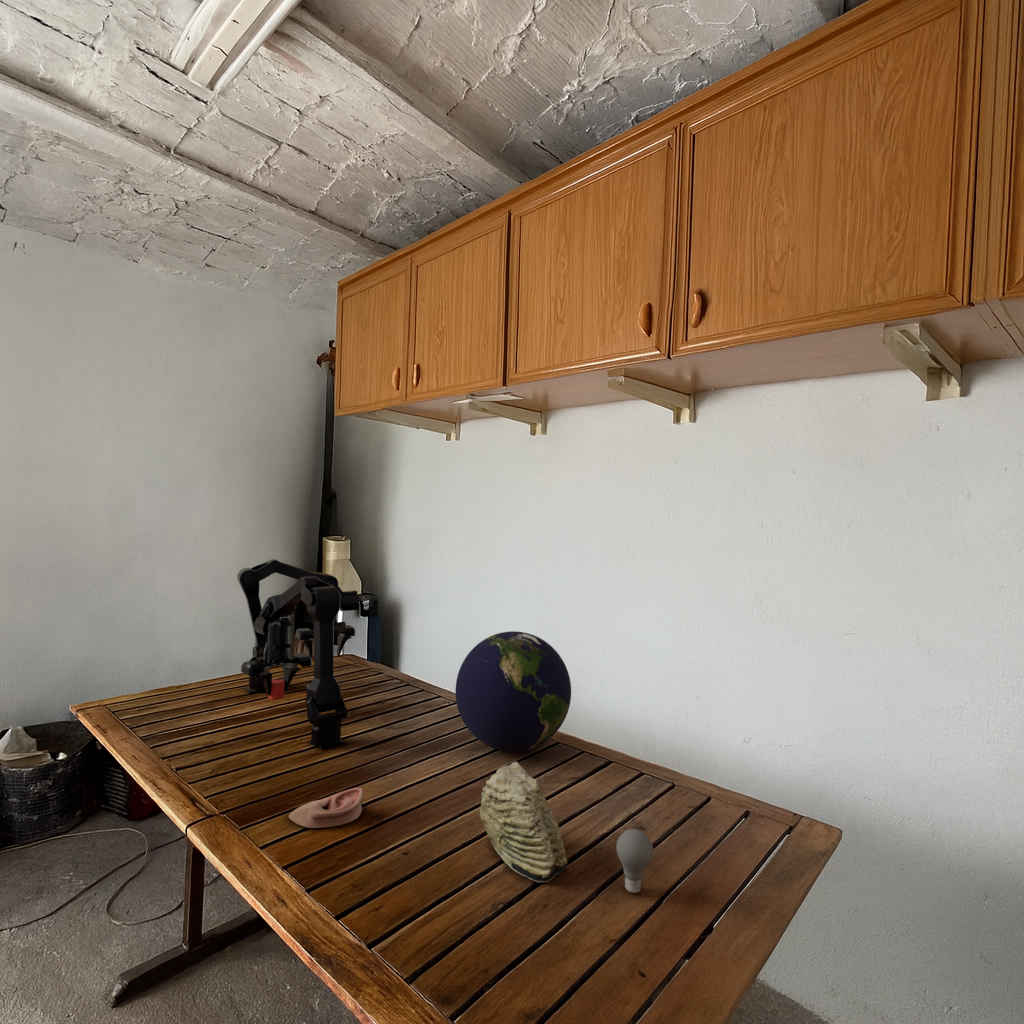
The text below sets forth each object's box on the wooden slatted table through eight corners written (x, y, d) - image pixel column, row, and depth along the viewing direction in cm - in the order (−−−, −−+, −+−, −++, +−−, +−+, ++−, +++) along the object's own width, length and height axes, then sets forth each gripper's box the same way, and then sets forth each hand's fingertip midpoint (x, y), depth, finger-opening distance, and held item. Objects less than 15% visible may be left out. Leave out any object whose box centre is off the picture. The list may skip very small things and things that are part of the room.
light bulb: (610, 879, 108) (613, 822, 108) (644, 879, 109) (647, 822, 109) (619, 902, 102) (622, 840, 102) (655, 901, 103) (658, 840, 103)
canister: (268, 700, 180) (268, 684, 180) (268, 695, 184) (268, 680, 184) (284, 699, 181) (284, 683, 181) (284, 694, 185) (284, 679, 185)
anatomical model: (280, 803, 122) (311, 778, 133) (279, 823, 122) (310, 796, 133) (344, 813, 119) (370, 786, 130) (343, 834, 119) (369, 805, 130)
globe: (499, 719, 185) (504, 617, 185) (589, 746, 168) (594, 633, 167) (428, 749, 161) (433, 631, 160) (525, 784, 144) (531, 652, 143)
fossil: (501, 827, 124) (504, 751, 124) (575, 868, 111) (578, 784, 111) (467, 843, 118) (470, 763, 118) (541, 889, 105) (545, 799, 105)
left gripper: (305, 617, 201) (303, 666, 202) (361, 614, 212) (359, 660, 212) (296, 611, 211) (294, 658, 211) (350, 608, 221) (349, 653, 221)
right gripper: (295, 631, 194) (293, 681, 195) (234, 638, 181) (232, 692, 181) (313, 637, 187) (311, 690, 187) (250, 646, 173) (248, 702, 174)
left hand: (325, 657), depth 214 cm, fingers open, 9 cm apart
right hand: (276, 693), depth 182 cm, fingers closed on canister, 4 cm apart
